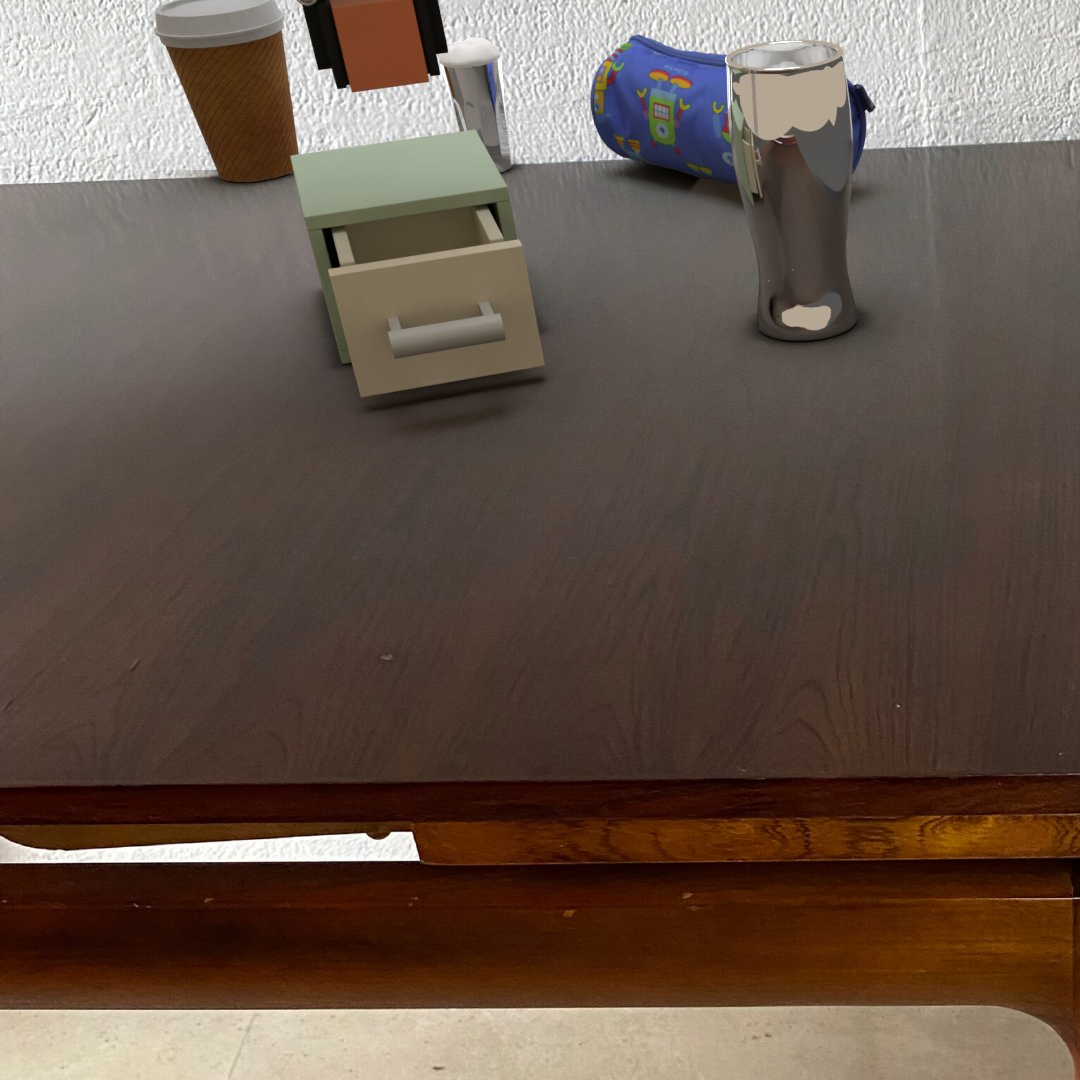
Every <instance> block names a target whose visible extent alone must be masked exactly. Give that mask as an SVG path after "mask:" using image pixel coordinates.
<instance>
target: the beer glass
mask: <svg viewBox="0 0 1080 1080" xmlns="http://www.w3.org/2000/svg"><path fill="white" fill-rule="evenodd" d="M727 54H728V55H727ZM727 54H726V55H727V56H726V58H725V62H726V77H727V109H728V124H729V137H730V145H731V152H732V159H733V165H734V170H735V174H736V179H737V183H738V186H737V188H738V191H739V196H740V199H741V202H742V205H743V210H744V213H745V217H746V221H747V223H748V227H749V228H748V229H749V231H750V235H751V238H752V243H753V247H754V250H755V256H756V263H757V270H758V271H757V272H758V273H757V274H758V296H757V309H756V326H757V328H758V330H759V331H760V333H762V334H763V335H765V336H766V337H770V338H773V339H776V340H780V341H790V342H807V341H808V342H809V341H818V340H824V339H828V338H832V337H835V336H838V335H841V334H843V333H845V332H847V331H849V330H851V329H852V328H853V327H854V326H855V325H856V323H857V322H858V310H857V305H856V301H855V297H854V292H853V289H852V285H851V281H850V277H849V270H848V259H847V258H848V256H847V253H848V251H847V249H848V248H847V244H848V243H847V241H848V229H849V217H850V210H851V209H850V208H851V207H850V206H851V197H852V185H853V175H852V172H853V131H852V119H851V109H850V100H849V93H848V85H847V79H848V78H847V73H846V67H845V65H846V64H845V58H844V49H843V47H842V46H840V45H838V44H836V43H833V42H828V41H823V40H814V39H785V40H784V39H783V40H774V41H766V42H759V43H755V44H749V45H746V46H742V47H740V48H736V49H735V50H733V51H730V52H729V53H727ZM846 78H847V79H846Z"/></svg>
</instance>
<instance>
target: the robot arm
mask: <svg viewBox="0 0 1080 1080" xmlns="http://www.w3.org/2000/svg"><path fill="white" fill-rule="evenodd" d="M412 1H413V6H414V11H415V15H416V20H417V25H418V30H419V34H420V39H421V44H422V49H423V53H424V58H425V63H426V68H427V72H428V75H429V76H430V77H437V76H441V70H440V63H439V58H438V54H443V53H448V42H447V37H446V33H445V26H444V22H443V17H442V13H441V8H440V7H441V6H440V3H439V0H412ZM296 2H297V3H299V4H300V5H301V6H302V10H303V15H304V18H305V23H306V27H307V31H308V35H309V39H310V43H311V47H312V51H313V54H314V59H315V62H316V67H317V70H318V71H323V70H330V69H331V72H332V77H333V80H334V82H335V87H336V90H343V89H347V88H348V86H350V84H349V79H348V75H347V71H346V67H345V62H344V58H343V54H342V50H341V46H340V41H339V37H338V33H337V29H336V25H335V20H334V16H333V12H332V8H331V4H330V1H329V0H296Z"/></svg>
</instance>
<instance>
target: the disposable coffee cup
mask: <svg viewBox="0 0 1080 1080" xmlns="http://www.w3.org/2000/svg"><path fill="white" fill-rule="evenodd" d="M285 16H286V15H285V12H284V11H282V10H280V8H279V6H278V3H277V2H276V0H171V1H168V2H166V3H163V4H161V5H159V6H157V7H156V8H155V27H154V28H153V33H154V34H155V35H156V37H158V38H159V41H160V43H161V44H162V45H163V46H165V49H166V51H167V53H168V56H169V58H170V61H171V63H172V66H173V68H174V70H175V73H176V75H177V78H178V80H179V84H180V85H181V87H182V90H183V92H184V94H185V97H186V99H187V101H188V104H189V107H190V109H191V111H192V114H193V117H194V119H195V120H196V124H197V126H198V128H199V131H200V133H201V135H202V137H203V141H204V143H205V145H206V147H207V150H208V152H209V154H210V157H211V159H212V163H213V164H214V167H215V169H216V172H217V175H218V177H219V178H220V179H222V180H223V181H229V182H235V183H252V182H259V181H265V180H273V179H277V178H279V177H283V176H286V175H288V174H289V175H290V174H291V173H294V171H293V166H292V162H291V156H292V155H299V153H300V151H299V145H298V138H297V131H296V124H295V123H296V122H295V115H294V109H293V101H292V93H291V87H290V79H289V72H288V65H287V58H286V51H285V45H284V38H283V37H284V35H283V29H284V26H285V25H284V20H285Z"/></svg>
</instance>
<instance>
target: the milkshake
mask: <svg viewBox="0 0 1080 1080" xmlns="http://www.w3.org/2000/svg"><path fill="white" fill-rule="evenodd" d="M447 47H448V53H443V54H437V56H438V63H439V67H440V68H441V73H442V76H443V79H444V82H445V86H446V89H447V93H448V95H449V99H450V102H451V106H452V108H453V112H454V115H455V116H454V117H455V119H456V123H457V127H458V132H461V131H468V130H476V132H477V134H478V135H479V137H480V139H481V141H482V142H483V144H484V146H485V148H486V150H487V151H488V153H489V155H490V157H491V158H492V160H493V162H494V164H495V166H496V167H497V169H498V171H499V173H500V174H502V173H504V172H506V171H509V170H510V169H512V157H511V148H510V147H511V146H510V139H509V131H508V121H507V113H506V106H505V88H504V81H503V80H504V77H503V66H502V54H501V51H500V49H498V47H497V46H496V45H495V44H493V43H492V42H491V41H490V40H488V39H486V38H485V37H473V36H470V37H467V38H466V39H464V40H460V41H458V40H457V41H454V42H452V43H451V44H450V45H447Z"/></svg>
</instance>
